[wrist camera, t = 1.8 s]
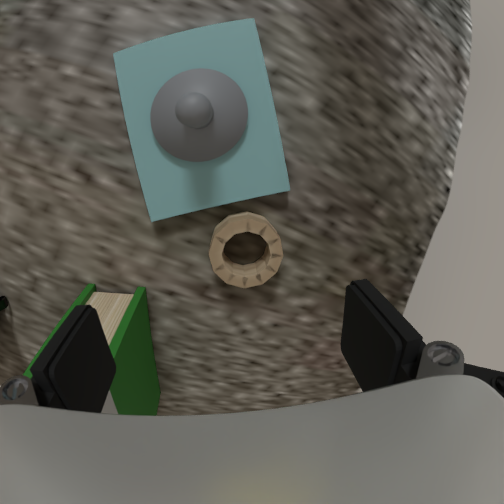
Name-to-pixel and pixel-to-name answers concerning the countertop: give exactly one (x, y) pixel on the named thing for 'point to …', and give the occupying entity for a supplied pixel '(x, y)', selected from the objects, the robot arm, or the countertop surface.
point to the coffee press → (3, 302)
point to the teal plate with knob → (201, 119)
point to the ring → (249, 272)
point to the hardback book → (123, 350)
